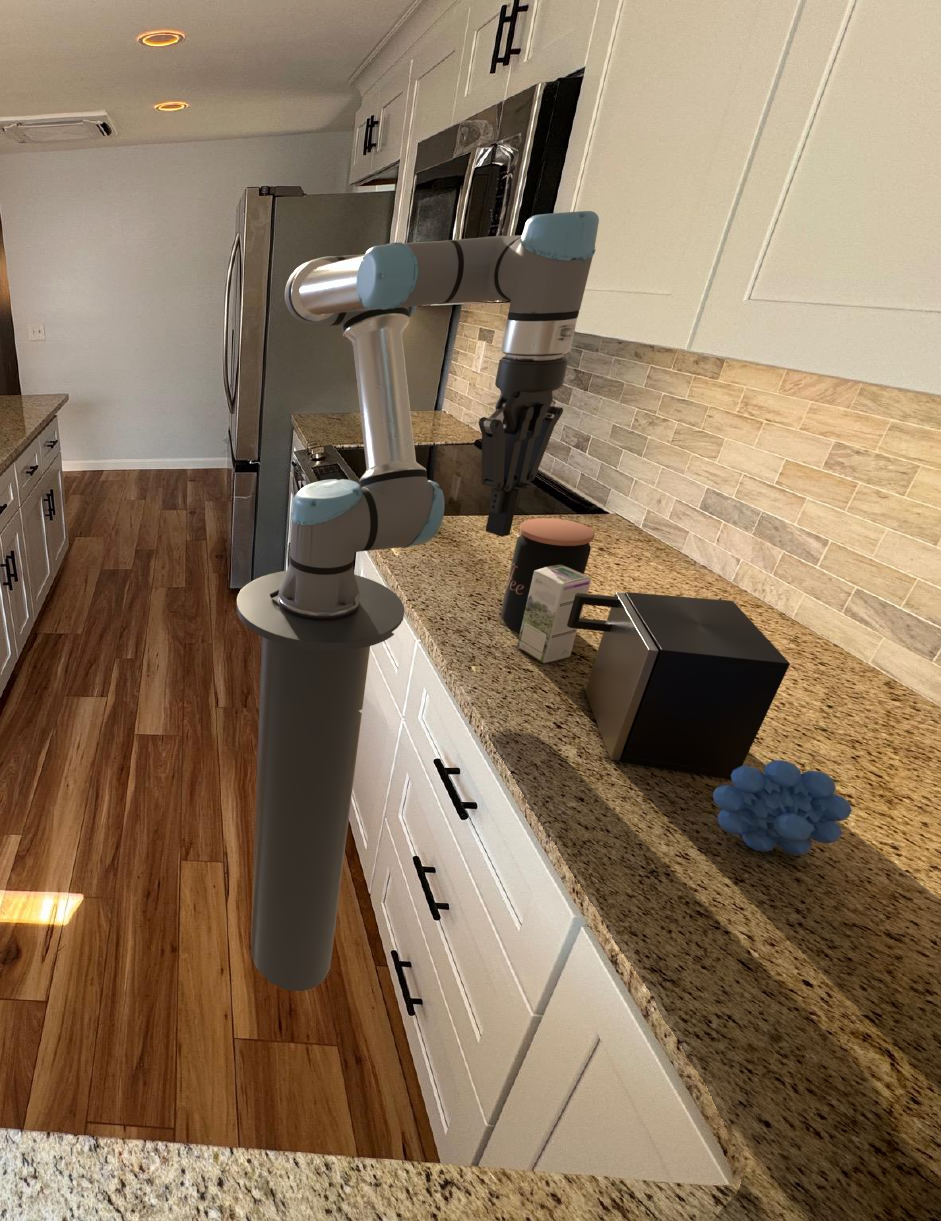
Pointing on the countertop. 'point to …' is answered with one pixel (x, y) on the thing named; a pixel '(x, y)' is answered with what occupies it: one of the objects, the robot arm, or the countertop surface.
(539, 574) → the syrup box
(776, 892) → the countertop surface
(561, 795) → the countertop surface
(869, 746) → the countertop surface
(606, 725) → the door
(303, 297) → the robot arm
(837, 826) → the blue flower
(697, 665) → the black box
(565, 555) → the coffee jar
